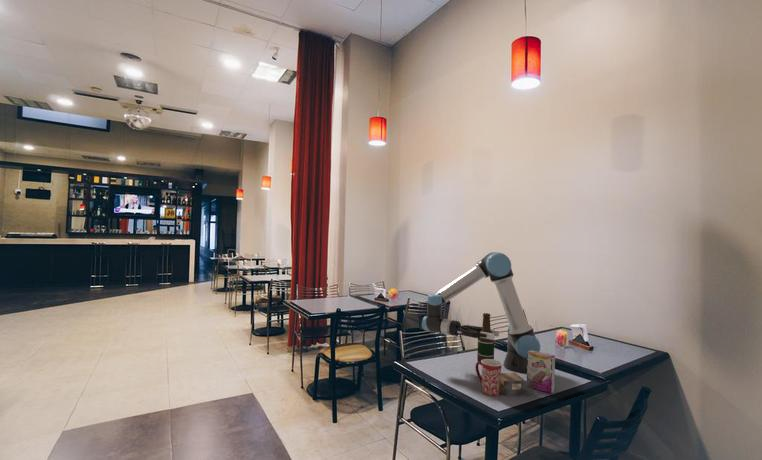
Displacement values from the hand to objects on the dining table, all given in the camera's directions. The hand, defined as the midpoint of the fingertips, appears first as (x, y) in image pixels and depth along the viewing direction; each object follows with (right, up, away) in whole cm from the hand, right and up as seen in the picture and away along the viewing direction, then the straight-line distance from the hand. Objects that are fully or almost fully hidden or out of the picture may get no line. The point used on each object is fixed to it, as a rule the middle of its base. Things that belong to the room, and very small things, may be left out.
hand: (496, 335), depth 168 cm
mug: (-7, -23, -9) cm, 26 cm away
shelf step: (+5, -23, -4) cm, 24 cm away
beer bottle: (-5, -15, +2) cm, 15 cm away
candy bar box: (+19, -24, -5) cm, 31 cm away
